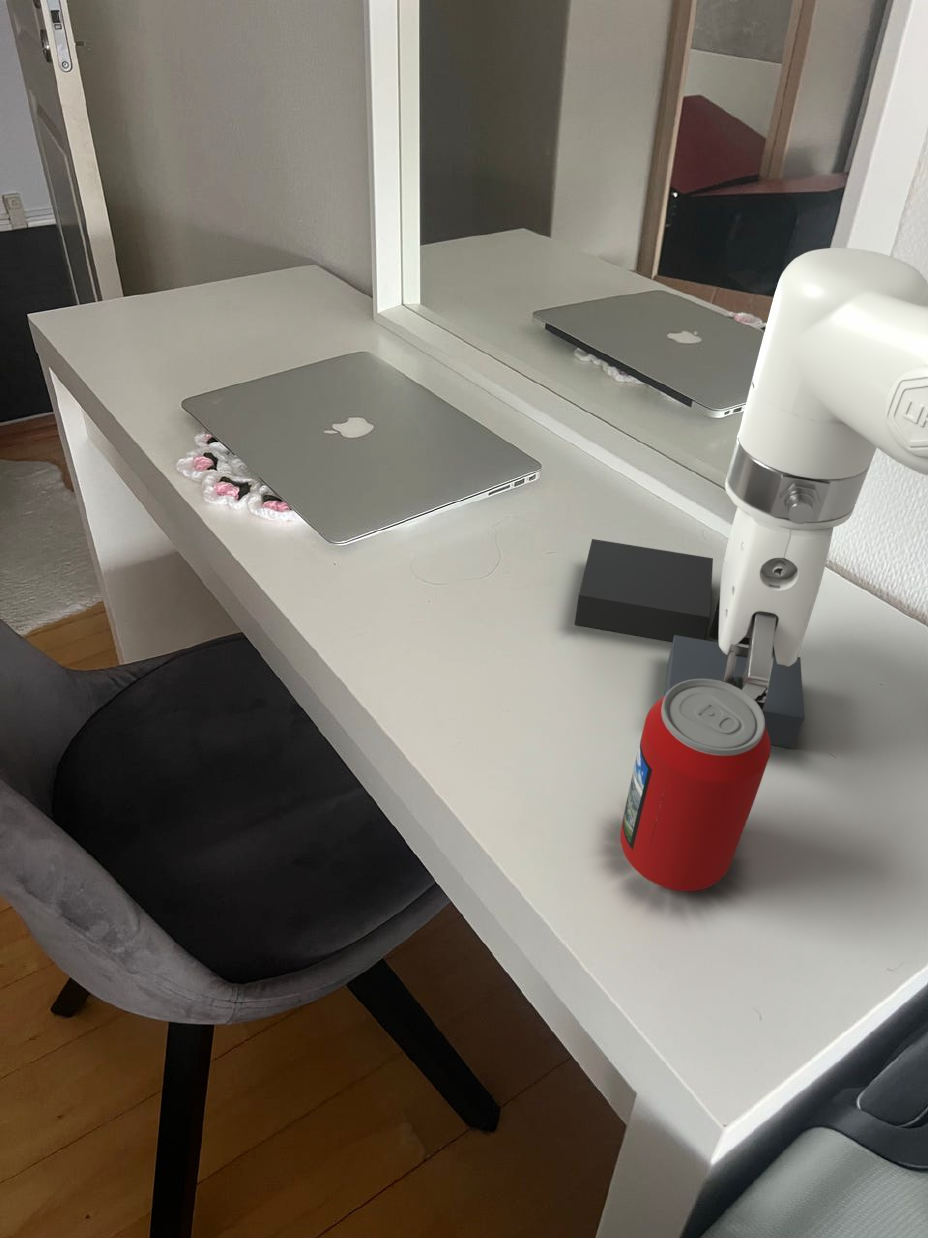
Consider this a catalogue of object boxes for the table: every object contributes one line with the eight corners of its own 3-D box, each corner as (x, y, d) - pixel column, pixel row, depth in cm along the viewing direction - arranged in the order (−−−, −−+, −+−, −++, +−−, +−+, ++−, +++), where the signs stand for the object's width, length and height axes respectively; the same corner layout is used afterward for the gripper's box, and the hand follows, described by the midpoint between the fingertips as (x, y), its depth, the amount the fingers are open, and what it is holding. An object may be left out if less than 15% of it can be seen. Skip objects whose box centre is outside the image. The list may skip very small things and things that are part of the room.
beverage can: (660, 790, 59) (696, 652, 52) (750, 853, 56) (803, 715, 48) (595, 849, 56) (623, 710, 48) (687, 921, 52) (733, 782, 44)
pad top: (789, 687, 68) (800, 656, 66) (792, 749, 63) (804, 718, 61) (667, 664, 69) (674, 634, 67) (661, 723, 64) (668, 693, 62)
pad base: (705, 587, 77) (713, 557, 75) (702, 647, 71) (710, 617, 69) (587, 567, 78) (592, 538, 76) (574, 624, 72) (578, 594, 70)
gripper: (876, 570, 47) (786, 786, 58) (848, 417, 60) (779, 617, 71) (727, 545, 48) (667, 761, 59) (732, 401, 61) (682, 600, 72)
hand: (728, 683), depth 65 cm, fingers open, 9 cm apart
